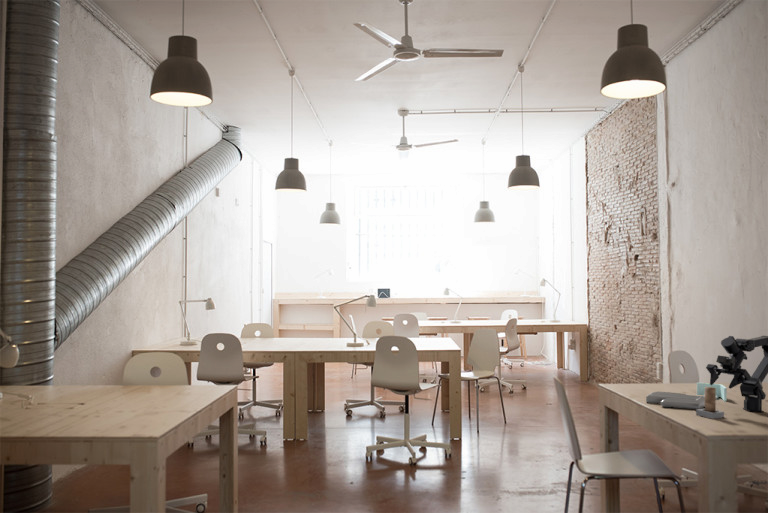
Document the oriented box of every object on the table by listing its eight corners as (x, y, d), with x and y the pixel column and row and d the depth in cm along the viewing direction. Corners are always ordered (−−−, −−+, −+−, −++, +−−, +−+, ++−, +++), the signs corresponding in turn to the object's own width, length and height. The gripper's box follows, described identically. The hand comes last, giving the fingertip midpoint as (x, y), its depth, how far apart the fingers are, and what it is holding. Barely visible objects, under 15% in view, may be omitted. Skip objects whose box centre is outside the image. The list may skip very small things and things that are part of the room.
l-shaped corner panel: (696, 396, 320) (696, 382, 320) (721, 398, 316) (721, 384, 316) (700, 400, 309) (700, 386, 309) (726, 402, 304) (726, 388, 305)
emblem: (679, 388, 311) (722, 399, 285) (679, 398, 311) (722, 410, 284) (634, 389, 304) (674, 400, 277) (634, 400, 304) (674, 412, 277)
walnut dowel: (712, 415, 270) (712, 386, 270) (717, 417, 265) (717, 388, 266) (702, 415, 270) (702, 386, 271) (707, 417, 266) (707, 388, 266)
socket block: (707, 413, 273) (707, 408, 273) (724, 417, 266) (724, 411, 266) (696, 415, 270) (696, 409, 270) (712, 418, 262) (712, 413, 263)
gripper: (708, 347, 284) (693, 371, 279) (746, 351, 267) (731, 378, 262) (719, 362, 287) (704, 387, 282) (757, 367, 270) (742, 394, 265)
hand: (719, 386), depth 273 cm, fingers open, 9 cm apart
